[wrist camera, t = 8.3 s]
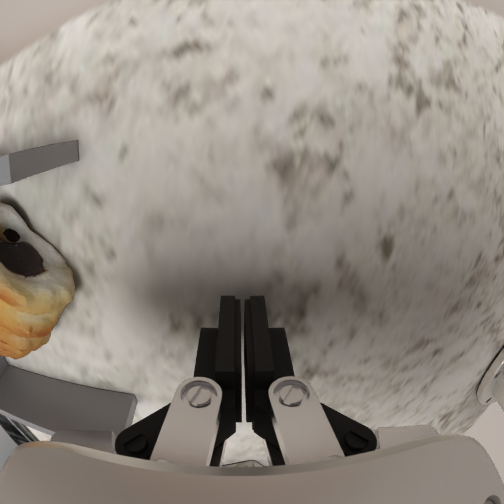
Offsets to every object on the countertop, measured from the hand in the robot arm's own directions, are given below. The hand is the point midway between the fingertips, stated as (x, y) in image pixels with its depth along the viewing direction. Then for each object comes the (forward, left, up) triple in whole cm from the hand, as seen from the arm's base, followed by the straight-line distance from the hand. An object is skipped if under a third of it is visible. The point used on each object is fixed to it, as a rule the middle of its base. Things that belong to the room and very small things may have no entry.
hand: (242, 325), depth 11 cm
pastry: (+12, -1, -1) cm, 12 cm away
